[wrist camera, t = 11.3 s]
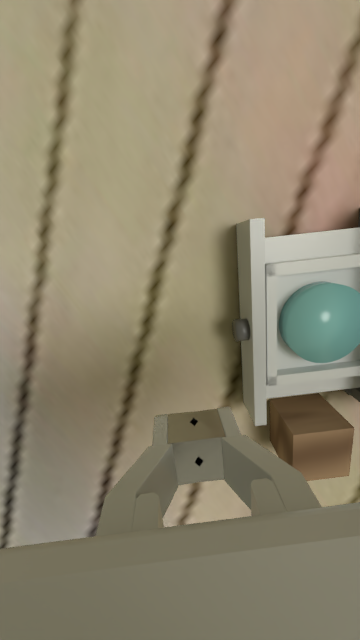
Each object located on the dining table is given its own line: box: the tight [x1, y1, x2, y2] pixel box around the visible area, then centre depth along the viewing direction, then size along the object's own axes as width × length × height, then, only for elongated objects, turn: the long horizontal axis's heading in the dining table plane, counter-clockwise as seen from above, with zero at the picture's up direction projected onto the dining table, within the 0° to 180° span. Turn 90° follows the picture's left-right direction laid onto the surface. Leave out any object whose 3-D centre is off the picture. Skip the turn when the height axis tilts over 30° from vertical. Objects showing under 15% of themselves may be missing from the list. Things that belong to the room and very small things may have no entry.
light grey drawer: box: [232, 218, 360, 426], centre depth 21 cm, size 17×17×4 cm
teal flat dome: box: [279, 281, 360, 363], centre depth 20 cm, size 6×6×2 cm
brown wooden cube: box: [270, 393, 354, 481], centre depth 23 cm, size 5×5×5 cm
